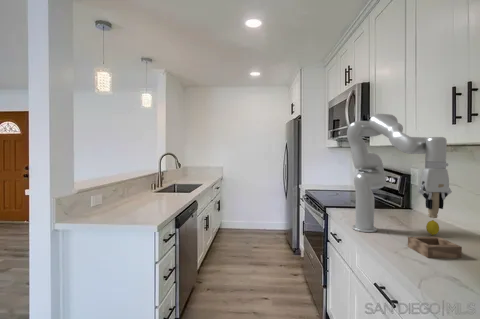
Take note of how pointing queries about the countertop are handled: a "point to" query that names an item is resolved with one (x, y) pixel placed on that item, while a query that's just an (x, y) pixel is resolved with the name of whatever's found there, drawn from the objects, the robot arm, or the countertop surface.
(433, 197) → the handle
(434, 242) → the square frame
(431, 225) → the lemon
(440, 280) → the countertop surface
